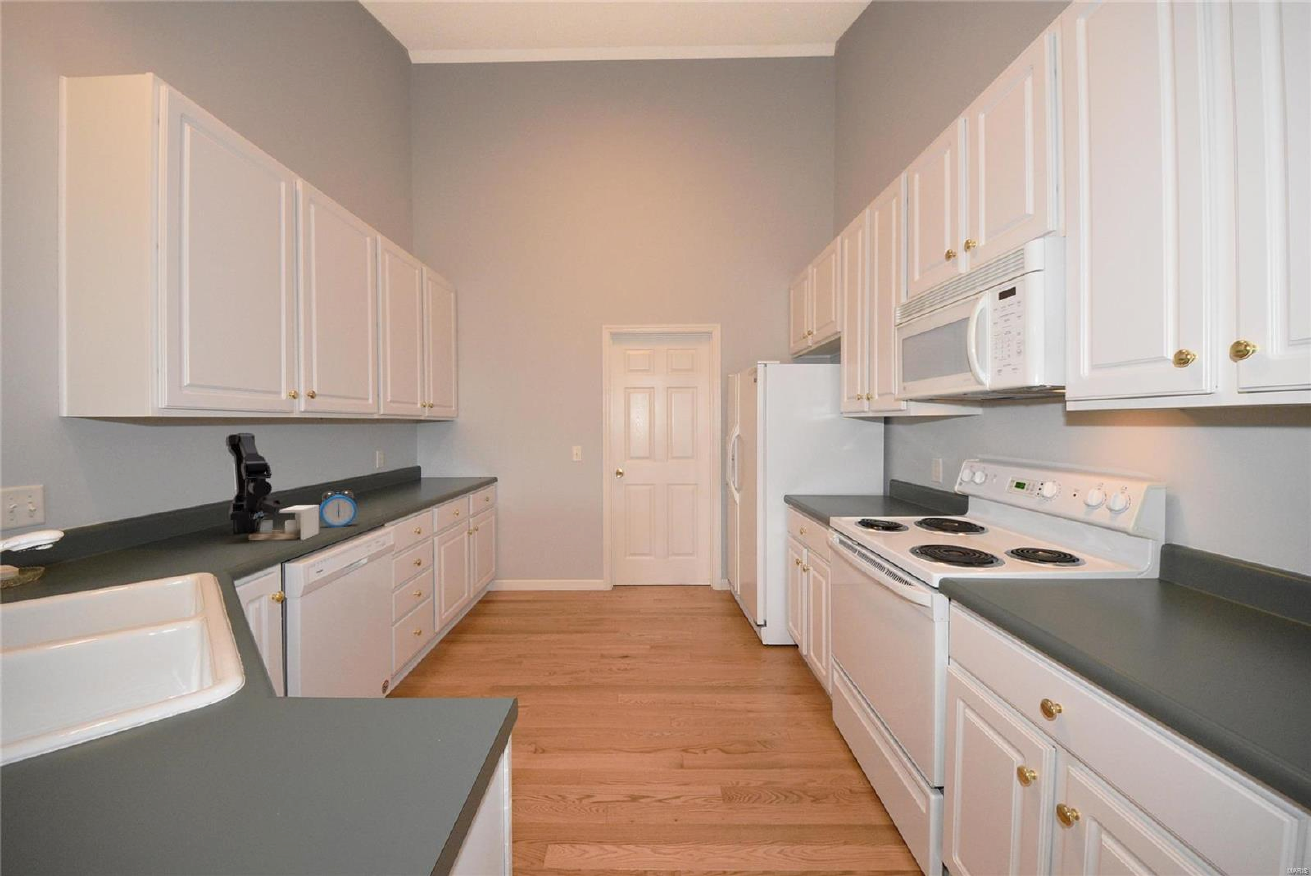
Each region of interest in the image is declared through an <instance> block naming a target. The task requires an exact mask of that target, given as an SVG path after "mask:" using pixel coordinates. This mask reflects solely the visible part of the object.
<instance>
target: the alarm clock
mask: <svg viewBox="0 0 1311 876" xmlns="http://www.w3.org/2000/svg"><path fill="white" fill-rule="evenodd" d="M336 493H337V494H336ZM336 493H335V492H334V491H331V490H330V491H329V490H328V491H325V492H324V493H323V494H322V496H321V499H322V502H321V504H320V505H319V518H321V520H322V522H323V523H324V524H325V525H327V526H328V528H331V527H332V528H340V527H341V528H342V527H345V526H347V527H349V524H351V523H352V522H353V521H354V519H355V518H356V516H357V512H358V510H357V509H358V508H357V504H356V503H355V501H354V500H353V499H354V497H355V496H354V493H353V492H352V491H351V490H342V491H341V494H340V491H337V492H336Z"/></svg>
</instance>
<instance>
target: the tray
mask: <svg viewBox="0 0 1311 876" xmlns="http://www.w3.org/2000/svg"><path fill="white" fill-rule="evenodd" d="M299 538H301V530H297V532H296V533H293V534H285V529H272V534H260V530H259V531H257V532H256V533H253V534H248V541H269V540H271V541H272V540H274V541H277V540H279V541H280V540H296V539H299Z"/></svg>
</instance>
